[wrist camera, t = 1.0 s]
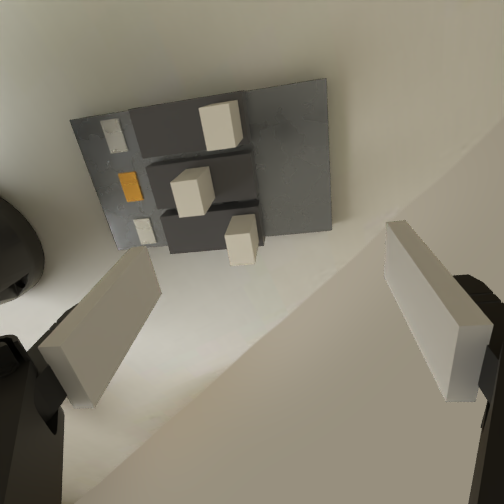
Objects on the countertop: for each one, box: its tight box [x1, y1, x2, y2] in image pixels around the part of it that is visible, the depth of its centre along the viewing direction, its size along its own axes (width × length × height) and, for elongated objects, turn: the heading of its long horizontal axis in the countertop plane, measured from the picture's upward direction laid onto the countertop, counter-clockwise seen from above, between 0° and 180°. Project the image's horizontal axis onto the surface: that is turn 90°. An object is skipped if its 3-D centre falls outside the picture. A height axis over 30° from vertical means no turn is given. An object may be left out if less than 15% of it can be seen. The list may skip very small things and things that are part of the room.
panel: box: [70, 78, 332, 250], centre depth 33 cm, size 24×14×2 cm, turn 98°
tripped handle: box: [170, 166, 215, 218], centre depth 28 cm, size 2×3×4 cm
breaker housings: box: [128, 90, 265, 266], centre depth 29 cm, size 10×14×7 cm
